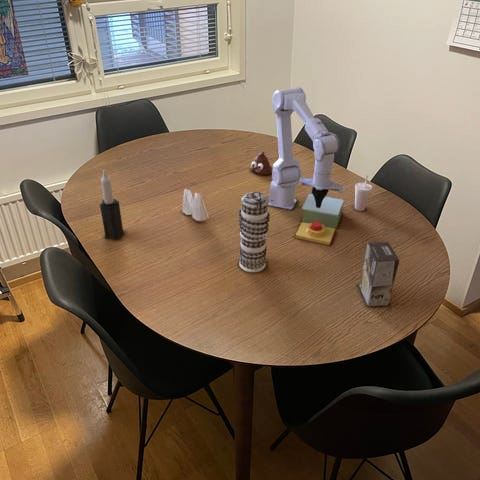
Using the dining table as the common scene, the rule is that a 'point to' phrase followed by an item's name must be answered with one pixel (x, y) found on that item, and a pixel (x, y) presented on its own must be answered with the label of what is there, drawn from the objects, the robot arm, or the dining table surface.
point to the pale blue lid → (323, 205)
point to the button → (316, 226)
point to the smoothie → (362, 195)
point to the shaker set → (194, 206)
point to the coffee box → (378, 273)
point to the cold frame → (322, 218)
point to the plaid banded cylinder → (253, 231)
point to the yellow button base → (315, 234)
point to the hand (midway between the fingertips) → (318, 206)
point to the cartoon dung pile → (261, 165)
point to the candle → (110, 211)
